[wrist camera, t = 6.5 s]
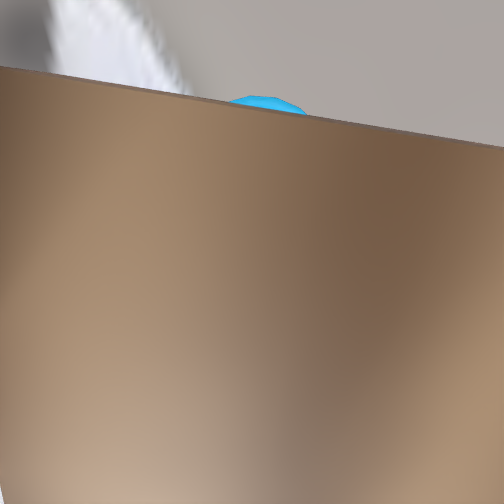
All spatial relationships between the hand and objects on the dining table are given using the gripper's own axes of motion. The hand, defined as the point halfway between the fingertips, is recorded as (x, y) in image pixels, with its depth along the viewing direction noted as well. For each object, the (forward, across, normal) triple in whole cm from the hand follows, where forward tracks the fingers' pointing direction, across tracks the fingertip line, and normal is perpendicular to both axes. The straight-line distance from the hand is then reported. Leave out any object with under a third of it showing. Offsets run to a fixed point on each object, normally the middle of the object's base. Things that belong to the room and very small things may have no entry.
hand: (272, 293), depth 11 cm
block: (-2, 0, 0) cm, 2 cm away
